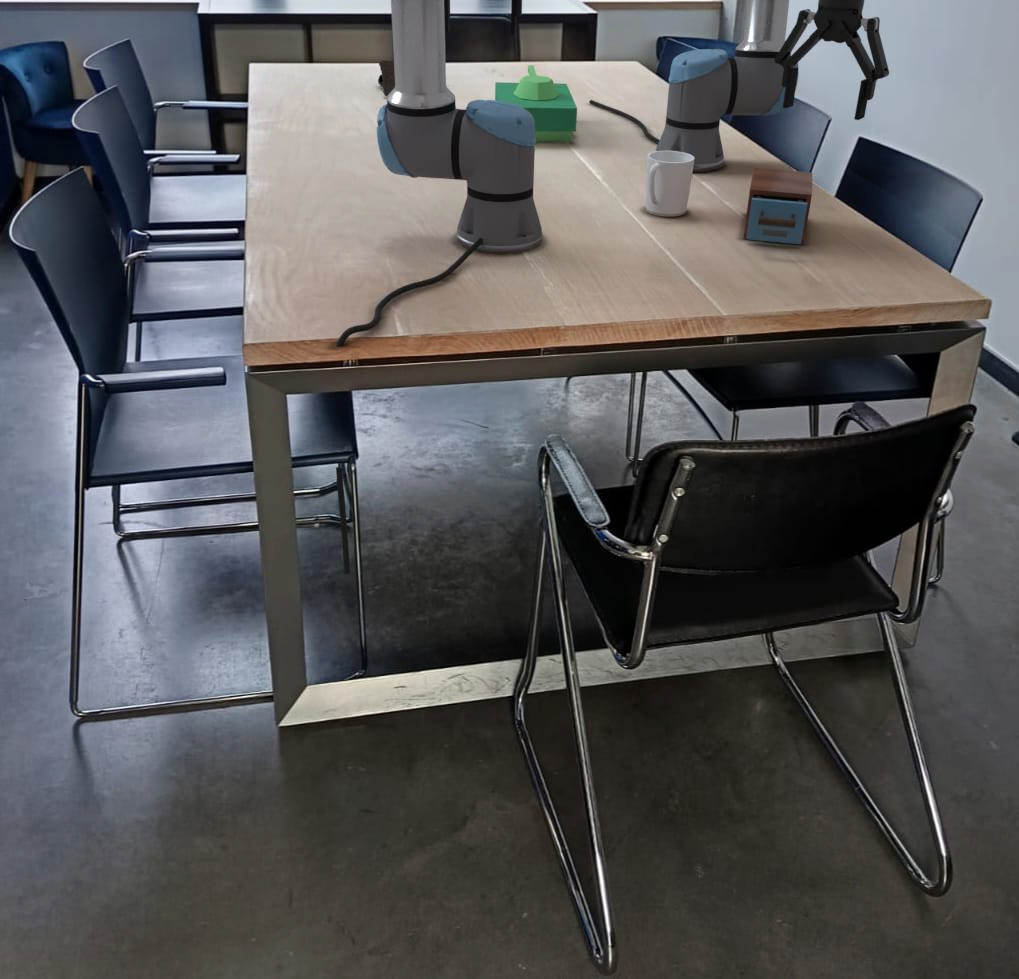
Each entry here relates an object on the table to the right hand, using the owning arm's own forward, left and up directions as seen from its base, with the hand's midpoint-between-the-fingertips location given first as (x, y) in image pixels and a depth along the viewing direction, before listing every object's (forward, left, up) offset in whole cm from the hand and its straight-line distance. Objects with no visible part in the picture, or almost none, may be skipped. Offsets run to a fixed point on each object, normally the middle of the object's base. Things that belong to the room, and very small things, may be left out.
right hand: (822, 112), depth 196 cm
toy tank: (-81, -34, -21) cm, 90 cm away
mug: (-12, -24, -21) cm, 34 cm away
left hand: (-49, -53, +7) cm, 72 cm away
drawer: (+7, -9, -20) cm, 23 cm away
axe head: (-127, -59, -21) cm, 141 cm away
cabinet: (+1, -7, -21) cm, 22 cm away
